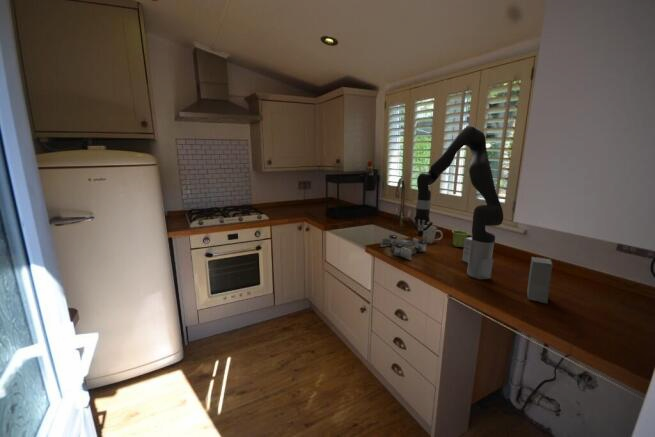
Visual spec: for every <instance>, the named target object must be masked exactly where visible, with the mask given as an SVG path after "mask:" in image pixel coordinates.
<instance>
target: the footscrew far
mask: <svg viewBox="0 0 655 437" xmlns="http://www.w3.org/2000/svg"><path fill="white" fill-rule="evenodd" d="M395 240H398V236H397V235H396V234H389V235H388V236H387V237H381V238H380V247H382V248H383V247H389V246H390V247H392V246H394V245H395Z"/></svg>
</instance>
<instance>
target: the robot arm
mask: <svg viewBox="0 0 655 437" xmlns="http://www.w3.org/2000/svg"><path fill="white" fill-rule="evenodd" d="M464 146H466V147H468V148H469V149H470V153H471V162H470V165H469V168H468V172H469V173H468V174H469V179H470V183H471V184H472V186H473V188H475V190H476V191H477V192H478V193H479V194H480V195H481V197H483V199H484V201H485V203H486V204H478V205H477V206H475V208H474V210H473V216H472V226H471V237H472V241H471V247H470V254H469V261H468V263H467V269H466V274H467V276H469V277H470V278H474V279H477V280H490V279H491V278H492V271H493V264H494V258H493V253H494V247H495V240H496V235H495V234H494V233H492V232H488V231H486V226H487V227H497V226H500V225H502V223H503V221H504V211H503V207H502V205H501V202H500V199H499V196H498V193H497V189H496V187H495V182H494V177H493V172H492V168H491V164H490V161H489V160H490V159H489V155H488V151H487V141H486V134H485V132H483V131H482V130H481V129H479V128H477V127H475V126H473V125H468V126H466V127H464V128H463V129H461V131H460V132H459V133H458V134H457V135H456V137H455V139H454V140H452V142H451V143H450V144H449V146H448V148H447V149H446V150H445V151H444V152H443V154H442V155H440V156H439V157H438V159H436V160H435V162H433V163H432V164H431V166H430V168H429V170H428V172H421V173H419V175H418V176H417V180H416V184H417V192H418V194H417V201H416V206H415V207H416V208H415V216H414V218H412V219H411V220H410V223H411V224H412V227H413V228H414V229H415V230H417V236H418V238H423V231H424V230H427V229H428V228H429V227H430V226H433V224H434V222H433V221H431V220H430V211H431V210H430V209H431V198H432V191H431V190H430V189H429V186H431V185H432V184H434V183H435V182H436V181H437V179H438V178H439V177H440V176H441V174H443V173H444V172H445V171H446V170H448V168H449V167H451V165H452V163H453V162H454V159H455V157H456V155H457V153H458V151H459V150H460V149H462V148H463V147H464ZM425 225H428V226H427V227H426V228H424V226H425Z"/></svg>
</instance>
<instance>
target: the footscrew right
mask: <svg viewBox="0 0 655 437" xmlns="http://www.w3.org/2000/svg"><path fill="white" fill-rule="evenodd" d="M412 241H413V242H414V243H415V245H414V248H416V249H417V252H420V253H425V252H426V251H427V244H428V243H427V241H425V240H423V239H418V238H416V237H413V238H412Z"/></svg>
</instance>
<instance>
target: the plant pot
mask: <svg viewBox="0 0 655 437" xmlns="http://www.w3.org/2000/svg"><path fill="white" fill-rule="evenodd" d="M451 232H452V239H453V240H452V241H453V242H452V244H453V245H452V246H454V247H457V248H464V243H465V238H468V236H469V235H470V234H469V233H470V232H467V231H463V230H452V231H451Z"/></svg>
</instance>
